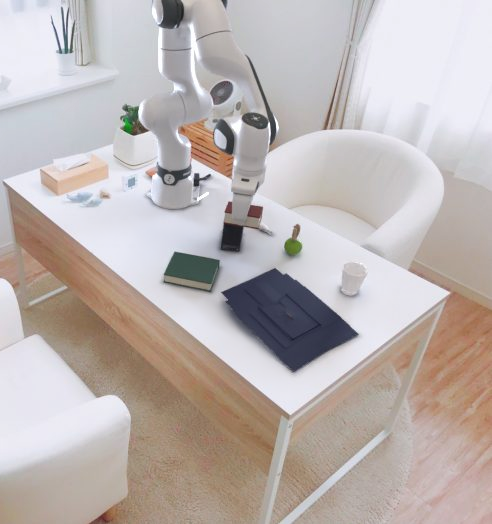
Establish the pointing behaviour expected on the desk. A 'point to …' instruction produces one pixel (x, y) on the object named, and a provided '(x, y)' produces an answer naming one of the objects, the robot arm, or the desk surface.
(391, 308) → the desk surface
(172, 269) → the hardcover book
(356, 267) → the cup
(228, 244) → the small box
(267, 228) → the stylus pen
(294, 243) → the snail figurine
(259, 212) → the pocket dictionary
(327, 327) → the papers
